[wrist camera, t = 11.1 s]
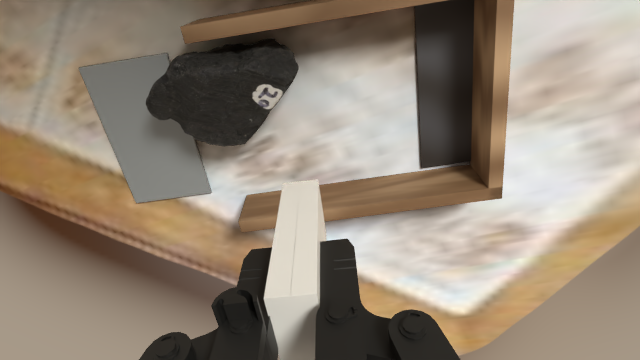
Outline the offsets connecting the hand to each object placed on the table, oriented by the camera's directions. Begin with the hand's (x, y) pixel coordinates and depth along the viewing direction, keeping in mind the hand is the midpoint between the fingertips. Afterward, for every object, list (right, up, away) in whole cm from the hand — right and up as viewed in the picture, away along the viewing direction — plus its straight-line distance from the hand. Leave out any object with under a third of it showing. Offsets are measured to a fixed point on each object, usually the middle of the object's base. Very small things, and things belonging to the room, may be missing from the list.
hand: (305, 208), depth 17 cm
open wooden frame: (+4, +8, +20) cm, 22 cm away
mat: (-16, +6, +21) cm, 27 cm away
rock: (-12, +11, +18) cm, 24 cm away
